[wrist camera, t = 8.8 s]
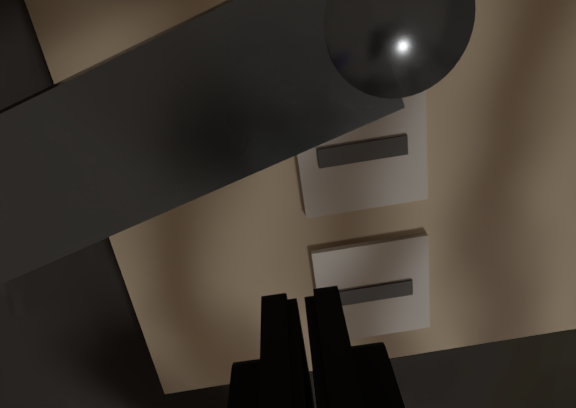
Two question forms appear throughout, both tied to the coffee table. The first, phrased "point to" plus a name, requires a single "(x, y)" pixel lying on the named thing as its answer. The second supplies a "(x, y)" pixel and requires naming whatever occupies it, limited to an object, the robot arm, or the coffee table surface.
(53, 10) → the label board
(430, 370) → the coffee table surface
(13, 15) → the coffee table surface
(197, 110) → the swing bar
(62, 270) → the coffee table surface
